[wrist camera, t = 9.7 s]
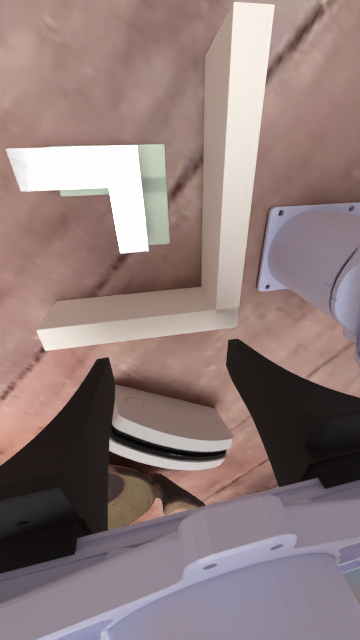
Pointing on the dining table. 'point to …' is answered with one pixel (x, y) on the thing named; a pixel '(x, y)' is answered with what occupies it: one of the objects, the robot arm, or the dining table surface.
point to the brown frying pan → (142, 495)
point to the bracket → (90, 181)
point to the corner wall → (218, 205)
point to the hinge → (167, 431)
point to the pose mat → (144, 190)
